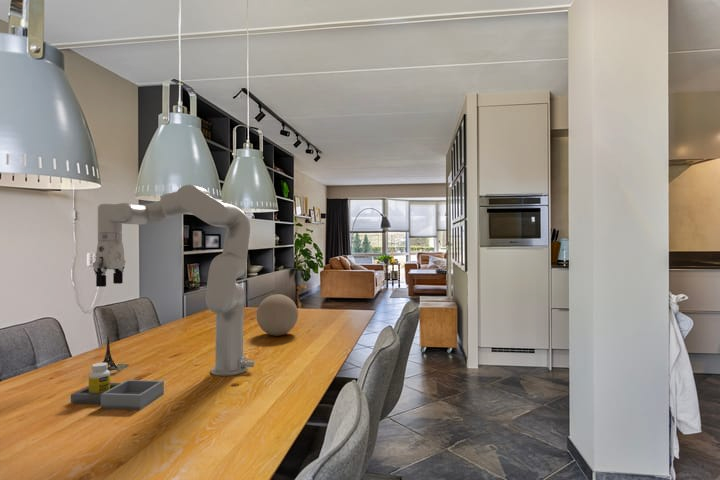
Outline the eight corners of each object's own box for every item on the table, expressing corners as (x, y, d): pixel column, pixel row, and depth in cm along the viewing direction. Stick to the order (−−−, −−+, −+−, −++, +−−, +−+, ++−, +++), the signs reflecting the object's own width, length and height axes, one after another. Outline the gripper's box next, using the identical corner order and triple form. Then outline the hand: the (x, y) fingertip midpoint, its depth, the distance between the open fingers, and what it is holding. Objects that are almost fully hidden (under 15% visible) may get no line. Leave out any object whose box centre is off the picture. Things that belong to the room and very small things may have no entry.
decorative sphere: (259, 330, 210) (259, 292, 210) (298, 330, 213) (298, 291, 212) (253, 340, 190) (253, 297, 190) (296, 339, 193) (297, 297, 193)
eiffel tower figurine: (114, 377, 141) (114, 338, 141) (82, 378, 140) (82, 339, 140) (133, 363, 156) (133, 329, 156) (104, 364, 155) (104, 329, 155)
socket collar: (126, 391, 127) (126, 383, 127) (103, 404, 117) (103, 395, 117) (95, 390, 127) (95, 382, 127) (70, 403, 117) (70, 394, 117)
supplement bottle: (99, 401, 119) (99, 367, 119) (84, 399, 120) (84, 366, 120) (114, 394, 124) (114, 362, 124) (99, 393, 125) (99, 361, 125)
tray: (163, 394, 125) (163, 380, 125) (140, 409, 113) (140, 395, 113) (127, 392, 125) (127, 379, 125) (100, 408, 114) (100, 394, 114)
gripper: (105, 237, 140) (105, 287, 140) (133, 238, 157) (133, 282, 157) (83, 237, 140) (83, 287, 140) (114, 238, 157) (114, 282, 157)
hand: (109, 284), depth 149 cm, fingers open, 9 cm apart
